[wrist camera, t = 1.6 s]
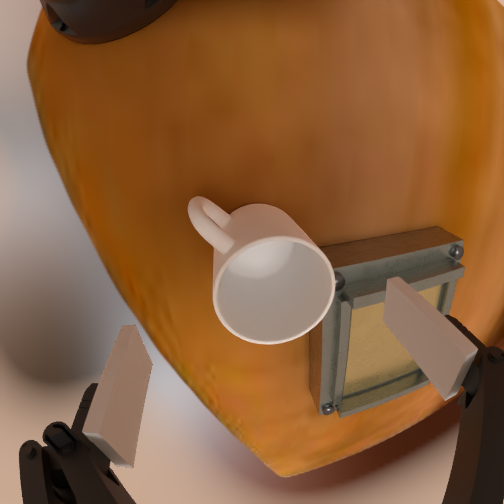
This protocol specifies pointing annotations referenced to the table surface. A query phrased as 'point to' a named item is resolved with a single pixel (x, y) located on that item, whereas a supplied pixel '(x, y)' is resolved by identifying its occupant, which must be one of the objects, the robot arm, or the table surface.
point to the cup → (264, 272)
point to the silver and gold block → (376, 317)
